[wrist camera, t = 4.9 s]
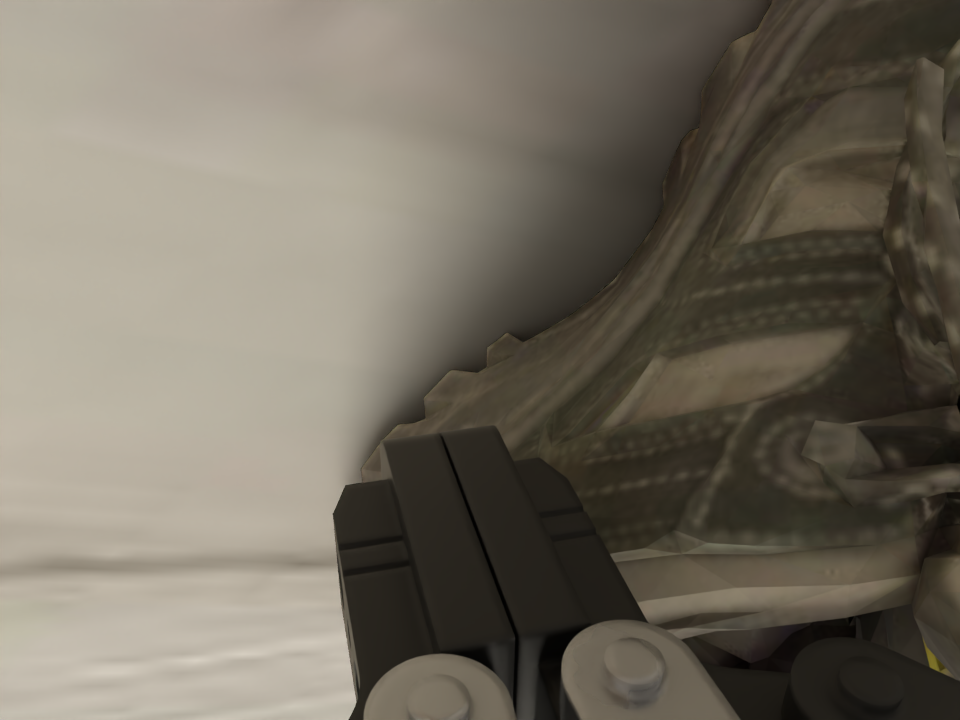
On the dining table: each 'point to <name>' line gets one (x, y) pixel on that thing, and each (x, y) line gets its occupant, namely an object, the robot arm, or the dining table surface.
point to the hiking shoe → (774, 354)
